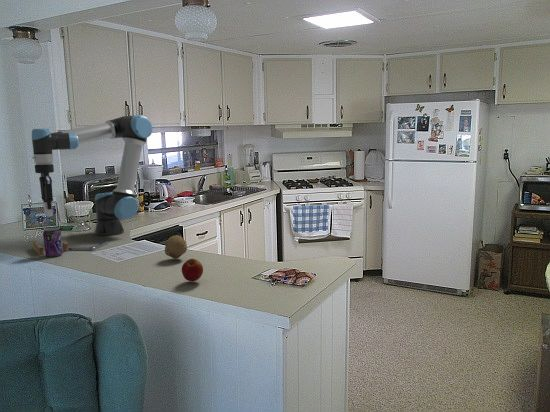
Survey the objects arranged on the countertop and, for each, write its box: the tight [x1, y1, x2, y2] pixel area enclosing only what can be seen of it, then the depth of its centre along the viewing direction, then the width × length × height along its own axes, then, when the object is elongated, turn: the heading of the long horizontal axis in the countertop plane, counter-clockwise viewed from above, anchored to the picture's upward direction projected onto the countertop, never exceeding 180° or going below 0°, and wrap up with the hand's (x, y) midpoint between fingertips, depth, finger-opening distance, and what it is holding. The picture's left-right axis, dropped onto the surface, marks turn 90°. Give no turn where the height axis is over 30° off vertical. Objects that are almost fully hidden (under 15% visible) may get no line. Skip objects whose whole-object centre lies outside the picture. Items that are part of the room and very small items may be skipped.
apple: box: [181, 258, 204, 282], centre depth 163 cm, size 8×8×8 cm
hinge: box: [68, 240, 108, 252], centre depth 213 cm, size 11×19×1 cm, turn 128°
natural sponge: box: [164, 235, 188, 259], centre depth 192 cm, size 9×9×10 cm
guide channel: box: [31, 239, 70, 257], centre depth 211 cm, size 12×16×4 cm
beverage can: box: [42, 226, 64, 258], centre depth 200 cm, size 7×7×12 cm
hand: (48, 215), depth 207 cm, fingers open, 3 cm apart
